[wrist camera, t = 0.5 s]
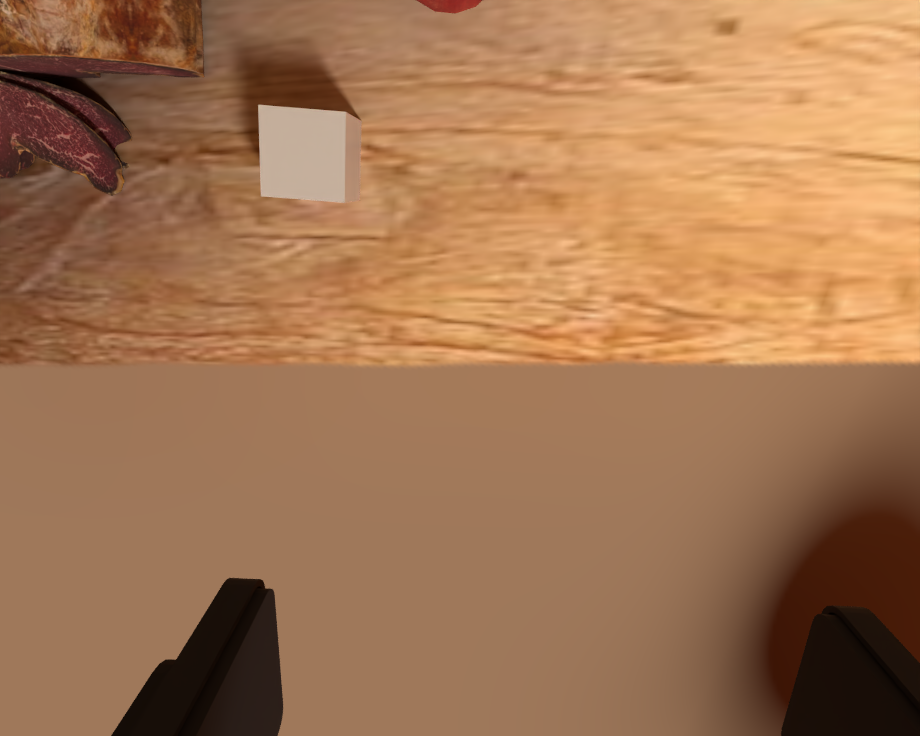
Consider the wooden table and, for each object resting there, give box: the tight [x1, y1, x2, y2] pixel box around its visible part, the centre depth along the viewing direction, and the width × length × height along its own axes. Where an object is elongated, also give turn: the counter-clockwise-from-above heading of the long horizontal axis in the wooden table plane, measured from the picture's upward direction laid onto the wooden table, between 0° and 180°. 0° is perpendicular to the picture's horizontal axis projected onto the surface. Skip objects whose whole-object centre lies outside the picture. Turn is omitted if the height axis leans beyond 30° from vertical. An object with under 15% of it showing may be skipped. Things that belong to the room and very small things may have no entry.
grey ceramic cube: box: [258, 105, 361, 203], centre depth 32 cm, size 4×4×4 cm
